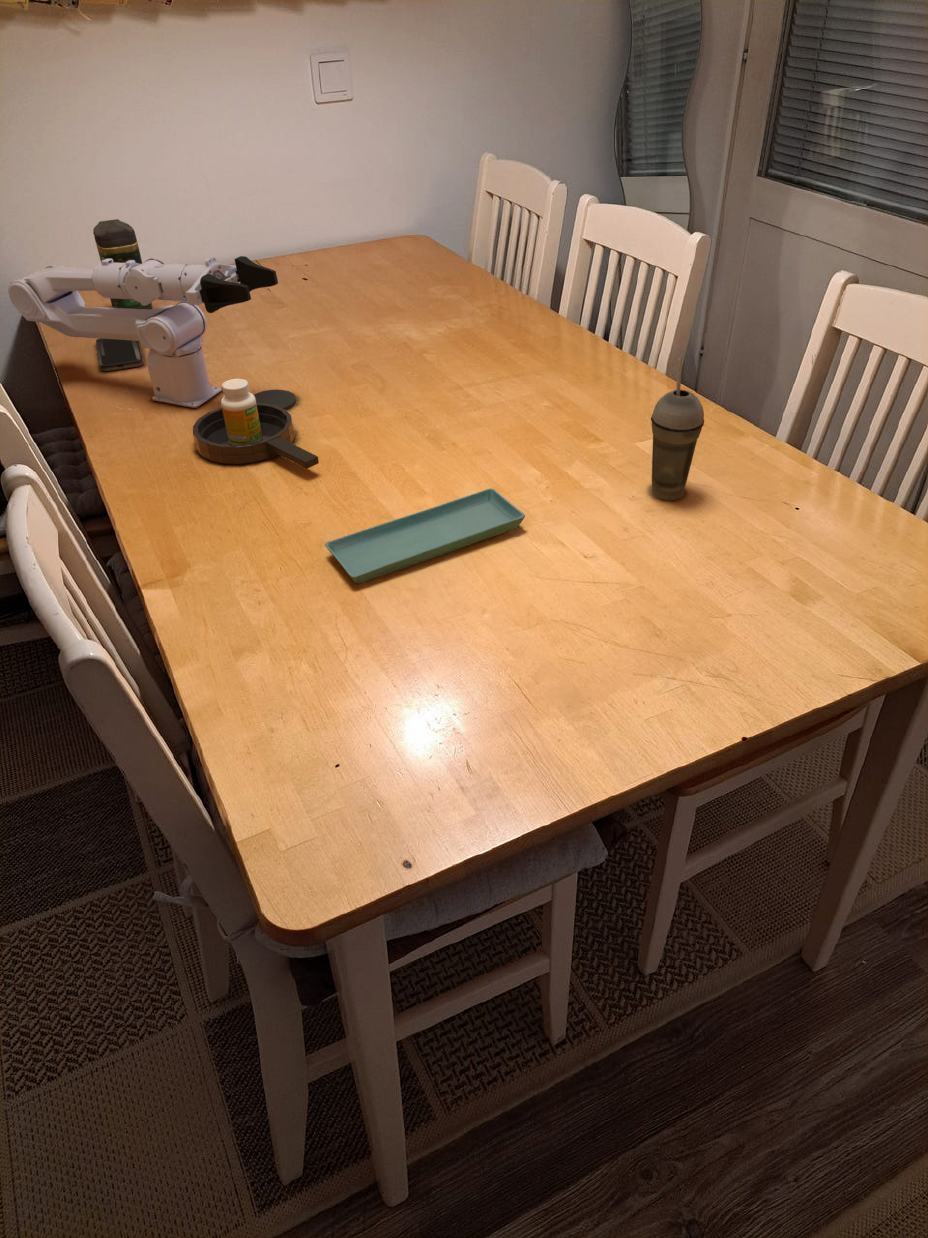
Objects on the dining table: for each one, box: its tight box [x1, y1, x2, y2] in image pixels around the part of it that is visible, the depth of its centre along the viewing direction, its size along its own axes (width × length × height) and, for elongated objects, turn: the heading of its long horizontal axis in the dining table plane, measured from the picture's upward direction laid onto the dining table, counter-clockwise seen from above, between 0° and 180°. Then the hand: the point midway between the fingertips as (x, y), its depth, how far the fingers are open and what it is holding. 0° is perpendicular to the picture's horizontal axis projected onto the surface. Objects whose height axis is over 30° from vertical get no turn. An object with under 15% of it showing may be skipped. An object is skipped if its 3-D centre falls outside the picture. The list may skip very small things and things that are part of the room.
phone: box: [95, 338, 144, 373], centre depth 176 cm, size 8×1×15 cm
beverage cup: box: [650, 356, 705, 501], centre depth 126 cm, size 7×7×20 cm
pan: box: [192, 403, 295, 465], centre depth 146 cm, size 16×16×3 cm
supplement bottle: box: [220, 378, 262, 445], centre depth 144 cm, size 5×5×10 cm
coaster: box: [253, 389, 297, 411], centre depth 158 cm, size 8×8×1 cm
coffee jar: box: [92, 218, 154, 310], centre depth 188 cm, size 10×8×19 cm
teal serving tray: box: [324, 487, 526, 585], centre depth 122 cm, size 26×9×2 cm, turn 120°
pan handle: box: [266, 437, 320, 470], centre depth 139 cm, size 10×2×1 cm, turn 47°
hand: (262, 285), depth 141 cm, fingers open, 7 cm apart
